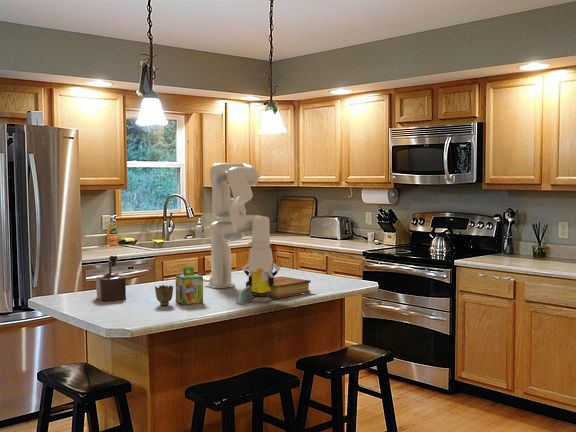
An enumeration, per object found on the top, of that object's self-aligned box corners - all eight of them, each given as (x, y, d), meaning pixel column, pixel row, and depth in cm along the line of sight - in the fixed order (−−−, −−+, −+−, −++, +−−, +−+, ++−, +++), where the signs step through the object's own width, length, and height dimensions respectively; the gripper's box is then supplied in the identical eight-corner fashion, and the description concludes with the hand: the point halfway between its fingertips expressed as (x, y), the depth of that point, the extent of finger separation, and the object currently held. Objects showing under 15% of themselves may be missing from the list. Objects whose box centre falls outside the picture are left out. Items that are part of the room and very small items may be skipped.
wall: (236, 304, 267) (236, 292, 267) (246, 296, 284) (246, 285, 283) (243, 304, 266) (243, 292, 266) (253, 296, 283) (253, 285, 283)
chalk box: (183, 305, 264) (183, 269, 263) (174, 301, 272) (174, 267, 271) (204, 303, 269) (203, 268, 268) (194, 299, 277) (194, 265, 276)
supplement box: (261, 291, 278) (260, 266, 277) (271, 292, 274) (270, 267, 273) (251, 293, 274) (251, 267, 273) (261, 294, 270) (260, 269, 269)
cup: (165, 302, 270) (165, 284, 269) (177, 305, 265) (177, 286, 264) (151, 305, 264) (151, 286, 263) (163, 308, 259) (162, 288, 259)
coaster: (248, 302, 271) (248, 300, 270) (253, 298, 279) (253, 296, 279) (269, 302, 269) (269, 301, 269) (273, 298, 278) (273, 297, 278)
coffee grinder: (128, 299, 278) (127, 258, 277) (102, 301, 272) (101, 259, 271) (117, 293, 291) (116, 254, 290) (92, 296, 286) (92, 256, 284)
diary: (280, 288, 305) (280, 276, 305) (310, 293, 292) (310, 280, 292) (245, 293, 288) (245, 280, 287) (276, 298, 275) (276, 285, 275)
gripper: (238, 246, 271) (239, 287, 272) (279, 246, 267) (279, 288, 268) (243, 244, 278) (243, 284, 279) (282, 244, 275) (282, 285, 276)
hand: (261, 286), depth 274 cm, fingers closed on supplement box, 8 cm apart
